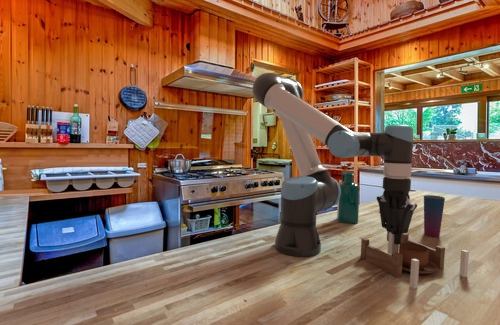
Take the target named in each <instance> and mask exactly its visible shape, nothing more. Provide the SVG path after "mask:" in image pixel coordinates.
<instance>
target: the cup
mask: <svg viewBox="0 0 500 325" xmlns="http://www.w3.org/2000/svg"><path fill="white" fill-rule="evenodd" d="M445 200H446V198H445V197H444V196H440V195H432V194H425V195H423V234H424V236H427V237H430V238H439V237H440V236H441V235H440V234H441V229H442V228H441V226H442V221H443V215H444V209H445V208H444V206H445Z"/></svg>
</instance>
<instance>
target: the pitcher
mask: <svg viewBox="0 0 500 325" xmlns="http://www.w3.org/2000/svg"><path fill="white" fill-rule="evenodd" d="M354 176H356V173H355V172H354V171H353V170H352V171H350V170H341V182H338V183H339V185H340V188H341V196H340V199H339V201H338V202H337V204H336V205H337V207H336V208H337V209H336V210H337V212H336V218H337V221H338V222H339V223H342V224H358V223H359V214H360V213H359V212H360V210H359V209H360V189H361V188H360V186H359V185H358V183H356V182H354Z"/></svg>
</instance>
